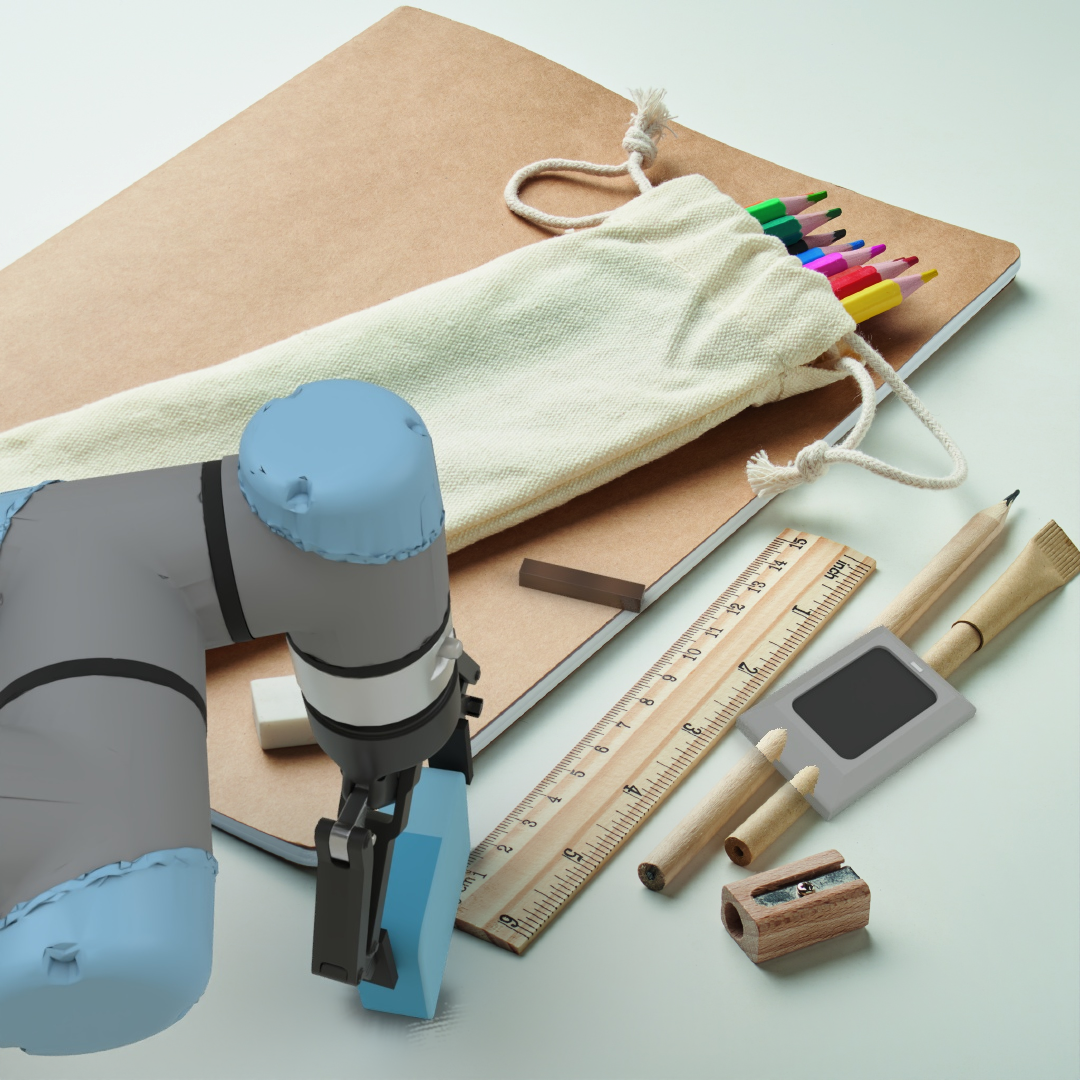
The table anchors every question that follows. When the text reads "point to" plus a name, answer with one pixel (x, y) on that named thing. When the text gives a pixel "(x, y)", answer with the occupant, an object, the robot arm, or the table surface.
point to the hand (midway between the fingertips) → (415, 870)
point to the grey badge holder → (858, 718)
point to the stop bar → (582, 585)
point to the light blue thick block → (423, 893)
